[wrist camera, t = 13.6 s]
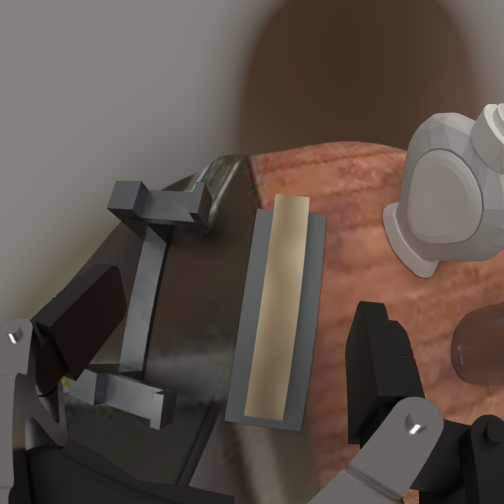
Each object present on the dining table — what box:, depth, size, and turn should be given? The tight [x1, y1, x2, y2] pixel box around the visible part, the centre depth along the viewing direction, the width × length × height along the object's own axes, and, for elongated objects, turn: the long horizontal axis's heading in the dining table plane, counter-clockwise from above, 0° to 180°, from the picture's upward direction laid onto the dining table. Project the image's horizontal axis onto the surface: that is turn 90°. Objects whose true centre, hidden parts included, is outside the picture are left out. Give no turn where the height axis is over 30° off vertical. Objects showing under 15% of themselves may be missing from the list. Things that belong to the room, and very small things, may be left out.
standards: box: [68, 181, 212, 430], centre depth 28 cm, size 10×21×10 cm, turn 172°
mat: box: [225, 209, 326, 431], centre depth 31 cm, size 8×24×1 cm, turn 172°
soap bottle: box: [382, 103, 504, 278], centre depth 21 cm, size 13×8×24 cm, turn 26°
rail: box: [244, 194, 310, 421], centre depth 30 cm, size 4×22×4 cm, turn 172°
